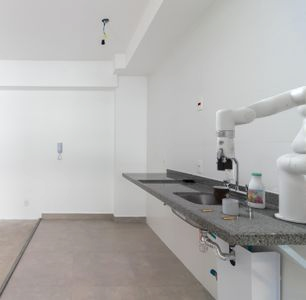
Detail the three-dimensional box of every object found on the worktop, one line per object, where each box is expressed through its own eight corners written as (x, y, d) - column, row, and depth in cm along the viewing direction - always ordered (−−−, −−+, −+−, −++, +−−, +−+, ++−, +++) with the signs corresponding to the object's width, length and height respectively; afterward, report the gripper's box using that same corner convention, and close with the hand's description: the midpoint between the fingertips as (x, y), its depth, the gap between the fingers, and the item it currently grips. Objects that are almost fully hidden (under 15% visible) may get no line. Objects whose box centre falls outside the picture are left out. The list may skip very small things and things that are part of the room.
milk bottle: (252, 204, 127) (252, 172, 127) (267, 208, 120) (268, 173, 120) (245, 206, 123) (245, 172, 123) (260, 209, 116) (261, 174, 116)
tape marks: (211, 210, 114) (211, 209, 114) (235, 218, 101) (235, 218, 101) (201, 210, 113) (201, 210, 113) (225, 219, 99) (225, 218, 99)
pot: (229, 211, 113) (229, 198, 113) (241, 215, 106) (241, 201, 106) (219, 212, 111) (219, 199, 111) (231, 215, 105) (231, 202, 105)
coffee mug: (223, 201, 135) (223, 186, 135) (233, 204, 126) (233, 188, 126) (205, 201, 134) (205, 186, 134) (214, 205, 126) (214, 188, 126)
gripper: (227, 133, 92) (227, 171, 92) (240, 135, 103) (240, 169, 103) (209, 134, 98) (209, 170, 98) (222, 136, 109) (222, 168, 109)
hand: (225, 170), depth 101 cm, fingers open, 9 cm apart
